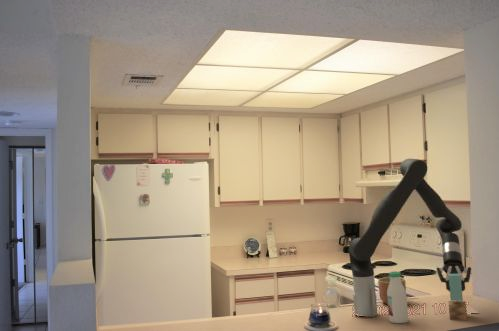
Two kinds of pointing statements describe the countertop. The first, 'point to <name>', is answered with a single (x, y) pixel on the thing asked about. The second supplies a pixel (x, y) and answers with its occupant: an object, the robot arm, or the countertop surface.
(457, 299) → the teal brick
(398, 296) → the milk bottle
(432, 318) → the countertop surface
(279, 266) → the countertop surface
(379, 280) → the planter
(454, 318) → the tower base
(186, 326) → the countertop surface
